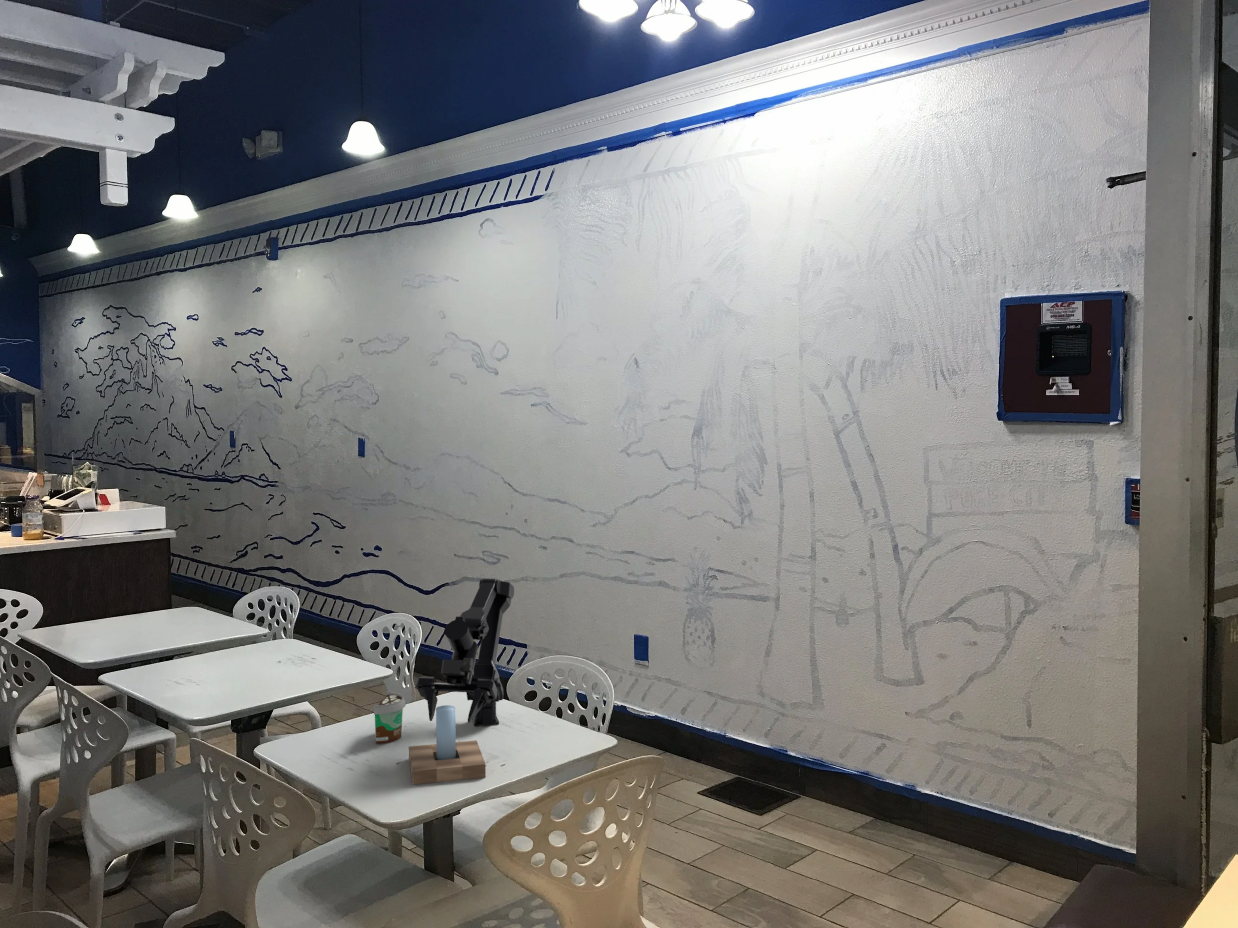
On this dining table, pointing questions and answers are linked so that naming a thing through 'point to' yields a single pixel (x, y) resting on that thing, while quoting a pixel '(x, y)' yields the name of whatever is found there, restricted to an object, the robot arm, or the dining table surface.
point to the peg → (445, 732)
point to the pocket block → (446, 763)
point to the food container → (389, 718)
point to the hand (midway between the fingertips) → (449, 720)
